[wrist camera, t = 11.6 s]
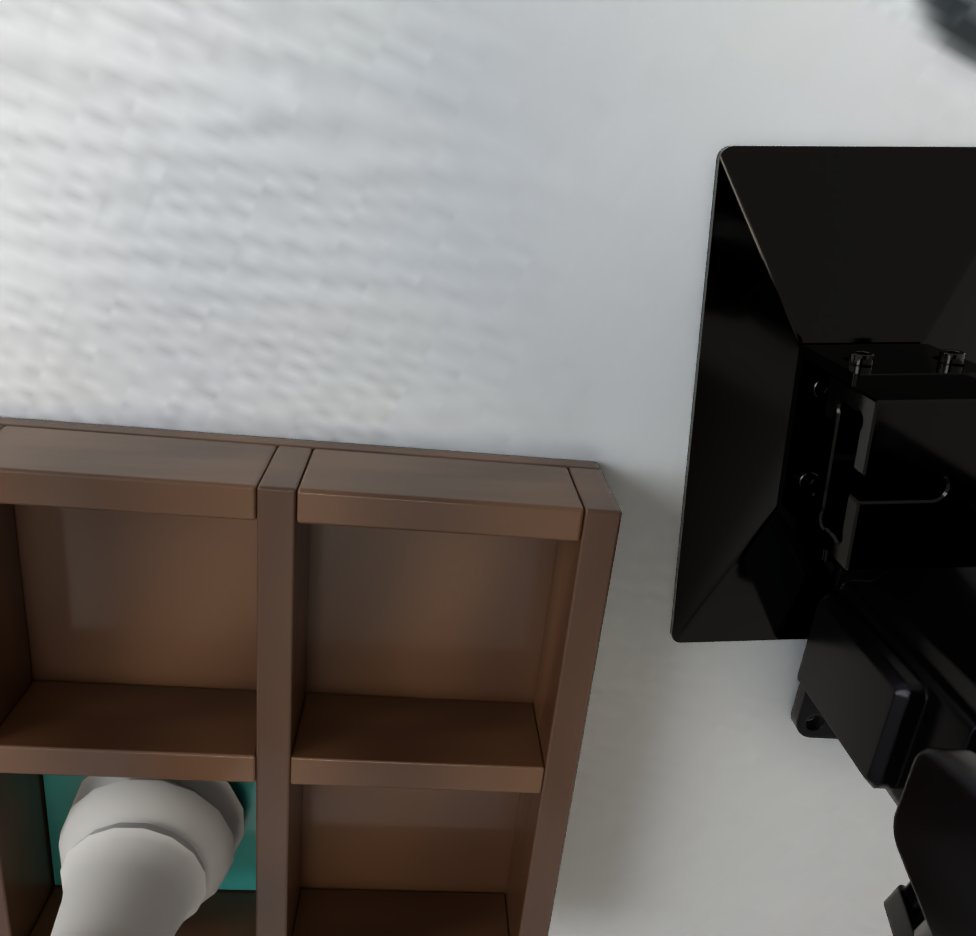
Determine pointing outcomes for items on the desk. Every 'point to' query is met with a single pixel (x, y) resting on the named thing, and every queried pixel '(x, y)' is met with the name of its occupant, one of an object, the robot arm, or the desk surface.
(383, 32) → the desk surface
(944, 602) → the robot arm
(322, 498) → the grid
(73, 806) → the rook chess piece
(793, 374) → the build plate
